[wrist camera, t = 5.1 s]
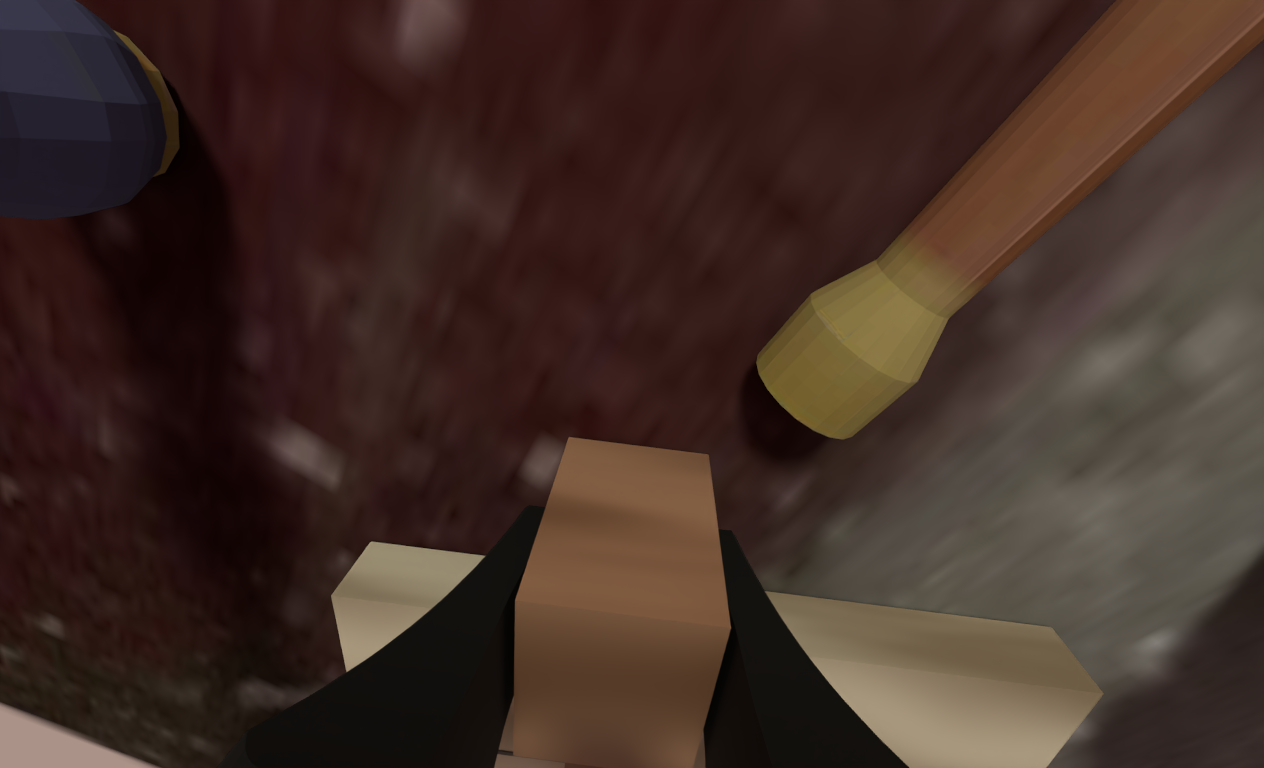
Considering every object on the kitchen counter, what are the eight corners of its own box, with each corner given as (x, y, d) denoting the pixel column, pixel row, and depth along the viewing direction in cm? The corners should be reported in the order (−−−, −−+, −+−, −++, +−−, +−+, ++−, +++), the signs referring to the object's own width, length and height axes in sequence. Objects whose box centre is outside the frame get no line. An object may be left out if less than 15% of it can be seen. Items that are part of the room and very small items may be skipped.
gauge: (653, 726, 18) (648, 930, 14) (551, 713, 18) (511, 912, 14) (708, 454, 13) (730, 628, 9) (568, 437, 13) (514, 600, 9)
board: (929, 812, 19) (957, 883, 18) (400, 744, 20) (373, 806, 18) (1051, 627, 15) (1104, 695, 13) (370, 541, 15) (330, 596, 13)
